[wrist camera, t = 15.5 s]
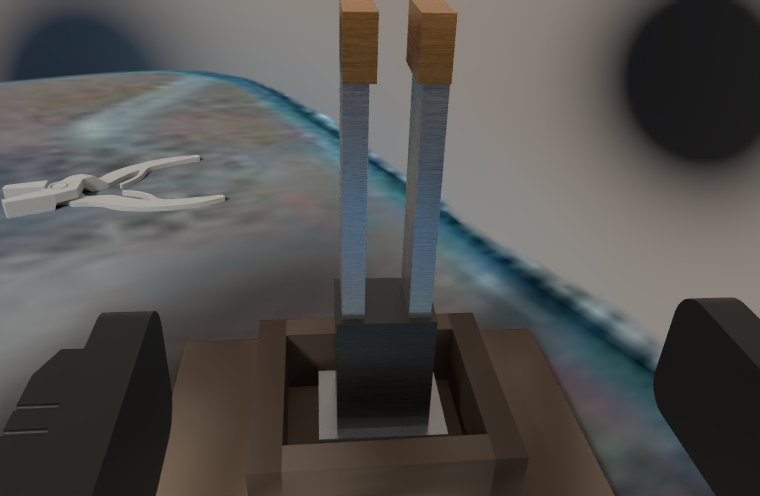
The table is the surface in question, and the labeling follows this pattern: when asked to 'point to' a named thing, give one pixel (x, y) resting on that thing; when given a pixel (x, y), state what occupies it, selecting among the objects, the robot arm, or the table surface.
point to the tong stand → (378, 457)
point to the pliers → (70, 189)
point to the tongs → (415, 288)
